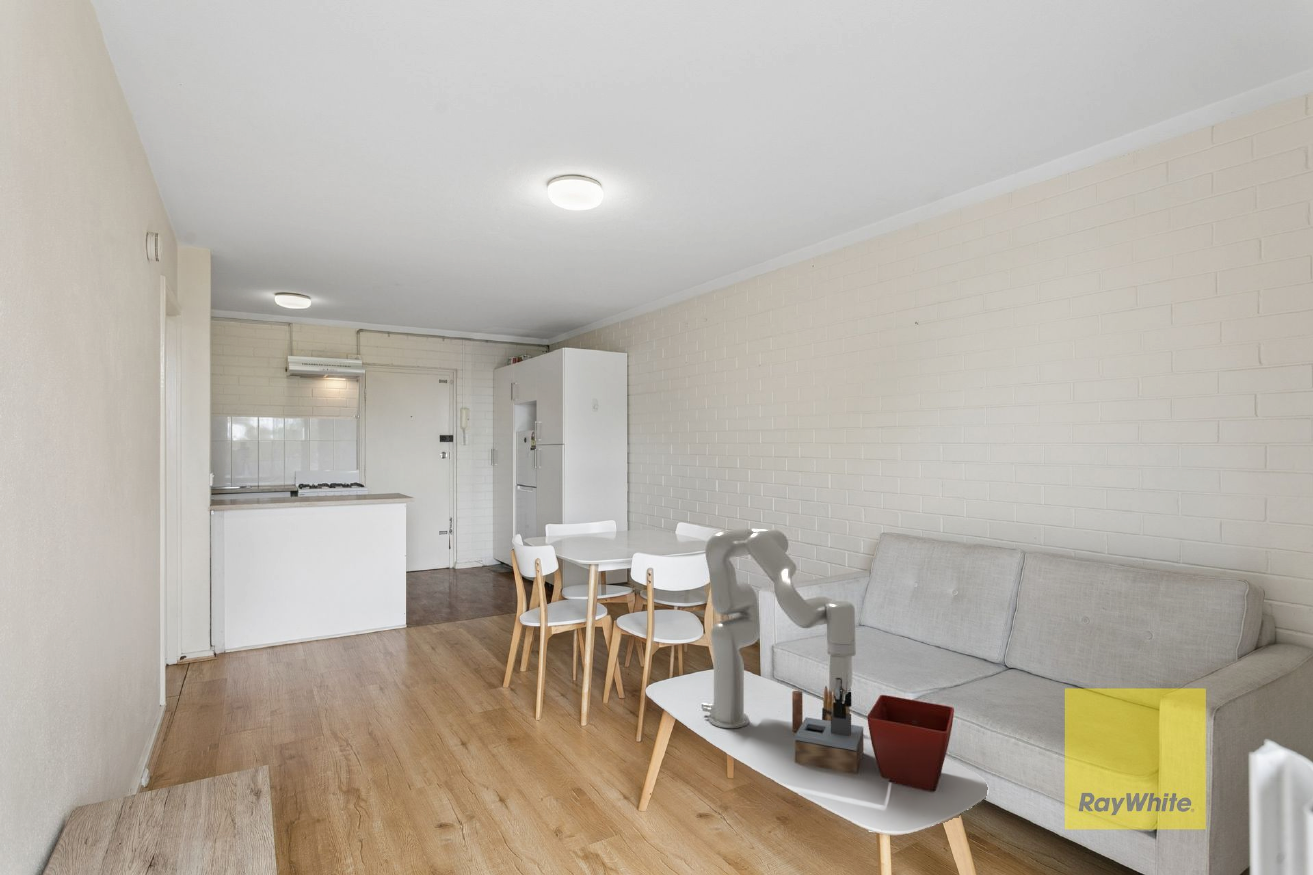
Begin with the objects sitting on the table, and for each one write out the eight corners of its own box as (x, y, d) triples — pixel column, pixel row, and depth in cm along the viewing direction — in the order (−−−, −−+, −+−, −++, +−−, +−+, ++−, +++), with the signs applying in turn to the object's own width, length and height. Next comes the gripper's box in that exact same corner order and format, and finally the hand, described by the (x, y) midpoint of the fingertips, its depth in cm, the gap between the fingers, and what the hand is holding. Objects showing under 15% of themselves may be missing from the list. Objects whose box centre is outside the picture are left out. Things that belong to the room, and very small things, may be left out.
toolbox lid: (795, 739, 179) (795, 716, 179) (805, 721, 192) (805, 699, 192) (856, 750, 172) (856, 726, 173) (863, 730, 185) (863, 708, 185)
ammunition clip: (851, 735, 199) (851, 694, 200) (847, 736, 198) (847, 695, 199) (826, 722, 209) (825, 684, 209) (821, 723, 208) (821, 685, 208)
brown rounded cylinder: (791, 735, 199) (791, 693, 199) (793, 731, 202) (793, 690, 202) (801, 737, 198) (801, 694, 198) (803, 733, 200) (803, 691, 201)
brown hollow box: (795, 765, 179) (795, 740, 179) (805, 745, 192) (805, 722, 192) (856, 778, 172) (856, 751, 172) (863, 756, 185) (863, 732, 185)
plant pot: (947, 802, 160) (947, 731, 161) (866, 783, 169) (866, 716, 170) (955, 770, 177) (954, 706, 177) (880, 754, 186) (880, 693, 187)
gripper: (832, 639, 191) (834, 699, 190) (821, 654, 175) (822, 720, 174) (859, 641, 188) (861, 703, 187) (850, 657, 172) (852, 724, 171)
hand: (842, 711), depth 181 cm, fingers open, 9 cm apart
